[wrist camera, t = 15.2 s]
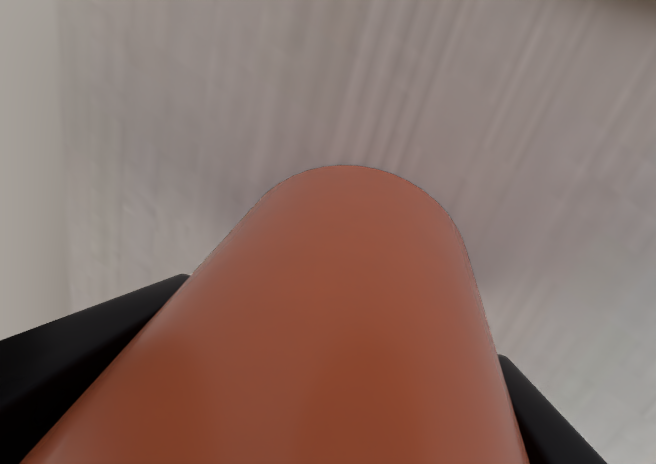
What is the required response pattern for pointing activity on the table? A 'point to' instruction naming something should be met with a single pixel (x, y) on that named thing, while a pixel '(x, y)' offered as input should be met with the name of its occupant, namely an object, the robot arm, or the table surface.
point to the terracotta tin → (310, 345)
